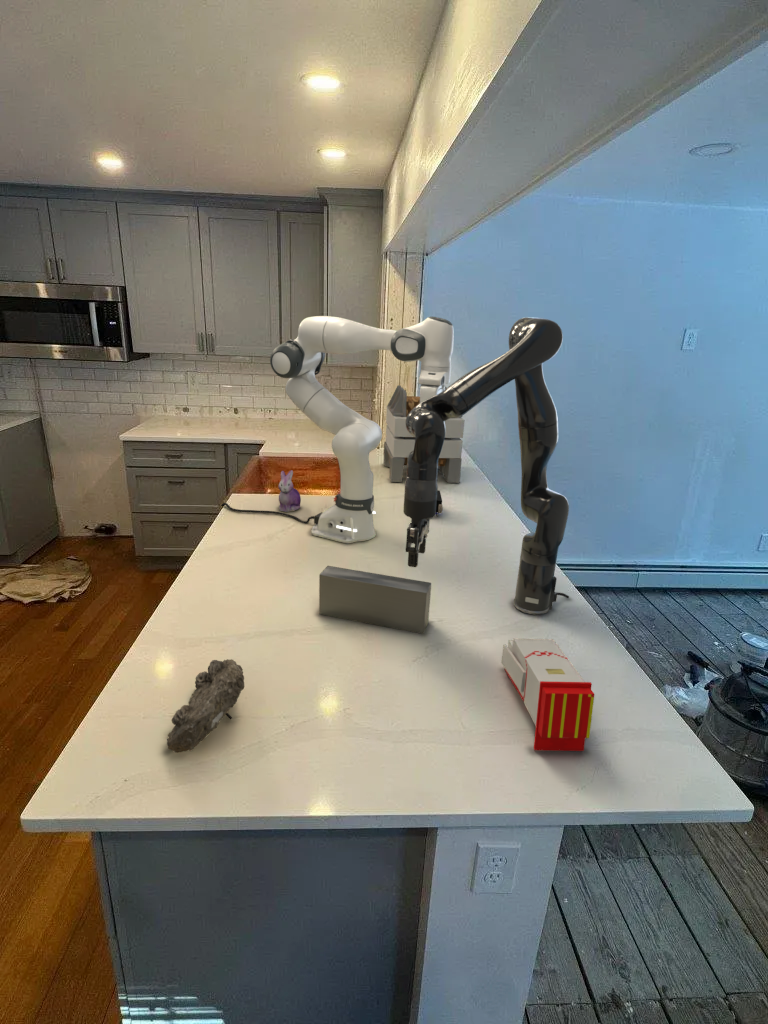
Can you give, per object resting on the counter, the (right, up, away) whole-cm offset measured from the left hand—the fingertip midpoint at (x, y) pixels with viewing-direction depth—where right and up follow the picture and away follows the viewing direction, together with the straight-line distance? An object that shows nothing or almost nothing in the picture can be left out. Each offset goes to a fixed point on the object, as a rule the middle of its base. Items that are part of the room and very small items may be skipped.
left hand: (431, 422), depth 170 cm
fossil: (-47, -66, -62) cm, 102 cm away
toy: (+17, -66, -54) cm, 87 cm away
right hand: (-6, -38, -34) cm, 51 cm away
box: (-17, -54, -25) cm, 62 cm away
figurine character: (+5, -27, +52) cm, 59 cm away
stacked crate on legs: (+3, -8, +105) cm, 105 cm away
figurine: (-51, -25, +49) cm, 75 cm away
